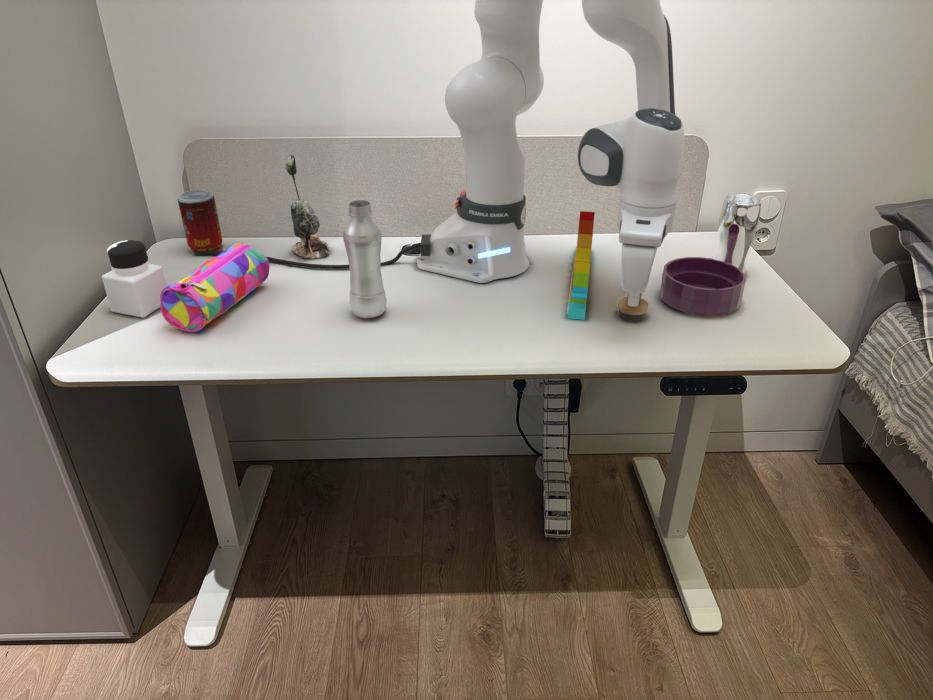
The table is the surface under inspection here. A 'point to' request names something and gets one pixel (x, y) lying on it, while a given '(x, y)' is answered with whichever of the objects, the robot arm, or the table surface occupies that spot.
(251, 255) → the pencil case
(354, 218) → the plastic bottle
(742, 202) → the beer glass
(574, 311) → the chart
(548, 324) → the table surface
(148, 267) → the medicine bottle
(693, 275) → the bowl
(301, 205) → the plant with pod
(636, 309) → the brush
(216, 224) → the soda can
